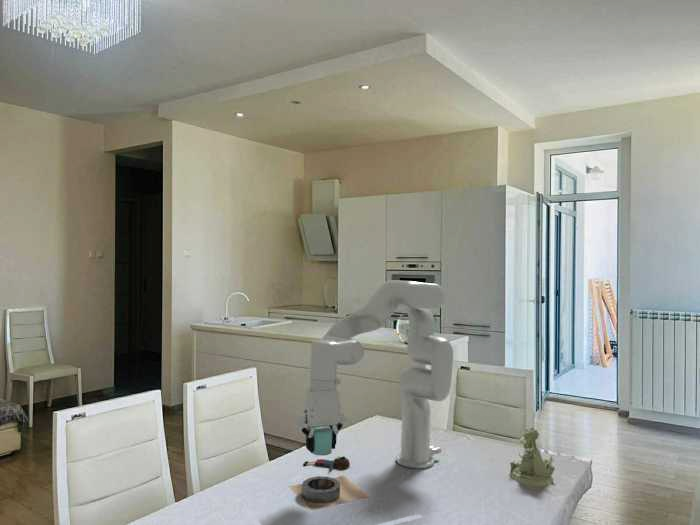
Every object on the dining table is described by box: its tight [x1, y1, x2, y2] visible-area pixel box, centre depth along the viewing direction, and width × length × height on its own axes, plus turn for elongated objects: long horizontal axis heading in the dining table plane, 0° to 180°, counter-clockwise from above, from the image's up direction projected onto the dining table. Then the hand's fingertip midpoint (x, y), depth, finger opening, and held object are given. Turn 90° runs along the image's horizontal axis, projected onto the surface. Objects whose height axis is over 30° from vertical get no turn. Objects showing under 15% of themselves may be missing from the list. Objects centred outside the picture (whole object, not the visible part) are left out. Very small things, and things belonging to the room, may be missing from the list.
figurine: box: [509, 427, 556, 487], centre depth 166 cm, size 14×13×15 cm
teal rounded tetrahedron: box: [310, 426, 333, 456], centre depth 148 cm, size 6×6×6 cm
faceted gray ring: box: [301, 475, 340, 504], centre depth 149 cm, size 10×10×3 cm
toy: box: [302, 455, 351, 475], centre depth 171 cm, size 14×5×15 cm
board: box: [289, 475, 371, 511], centre depth 151 cm, size 18×16×1 cm
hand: (321, 448), depth 148 cm, fingers closed on teal rounded tetrahedron, 6 cm apart
